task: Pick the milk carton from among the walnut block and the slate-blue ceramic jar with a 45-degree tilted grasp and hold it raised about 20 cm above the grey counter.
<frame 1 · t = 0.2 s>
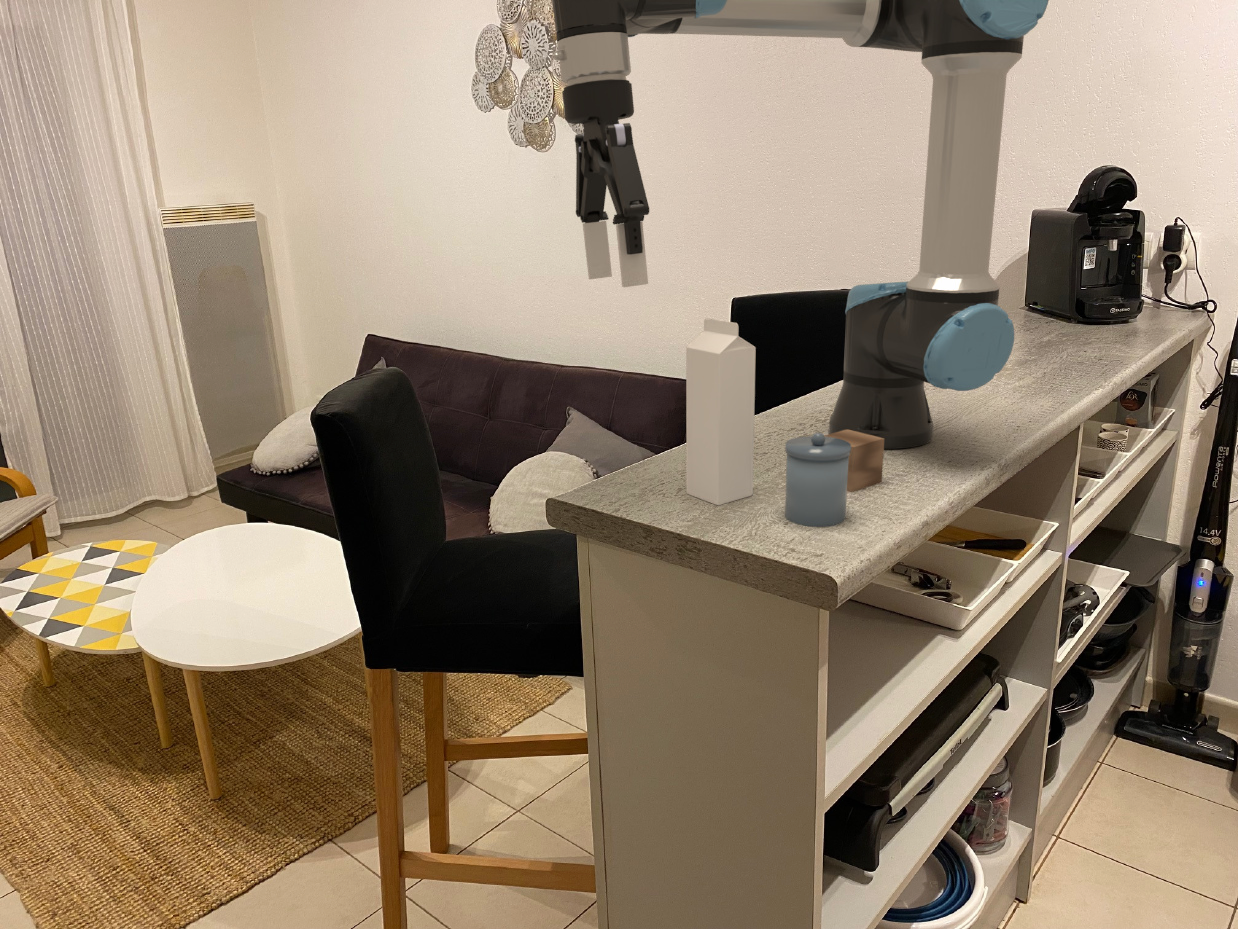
hand: (616, 281, 108), 27 cm above the countertop, tool pointing down, fingers open, 13 cm apart
walnut block: (848, 482, 124), on the countertop
slate jar: (815, 516, 112), on the countertop
milk: (719, 496, 120), on the countertop
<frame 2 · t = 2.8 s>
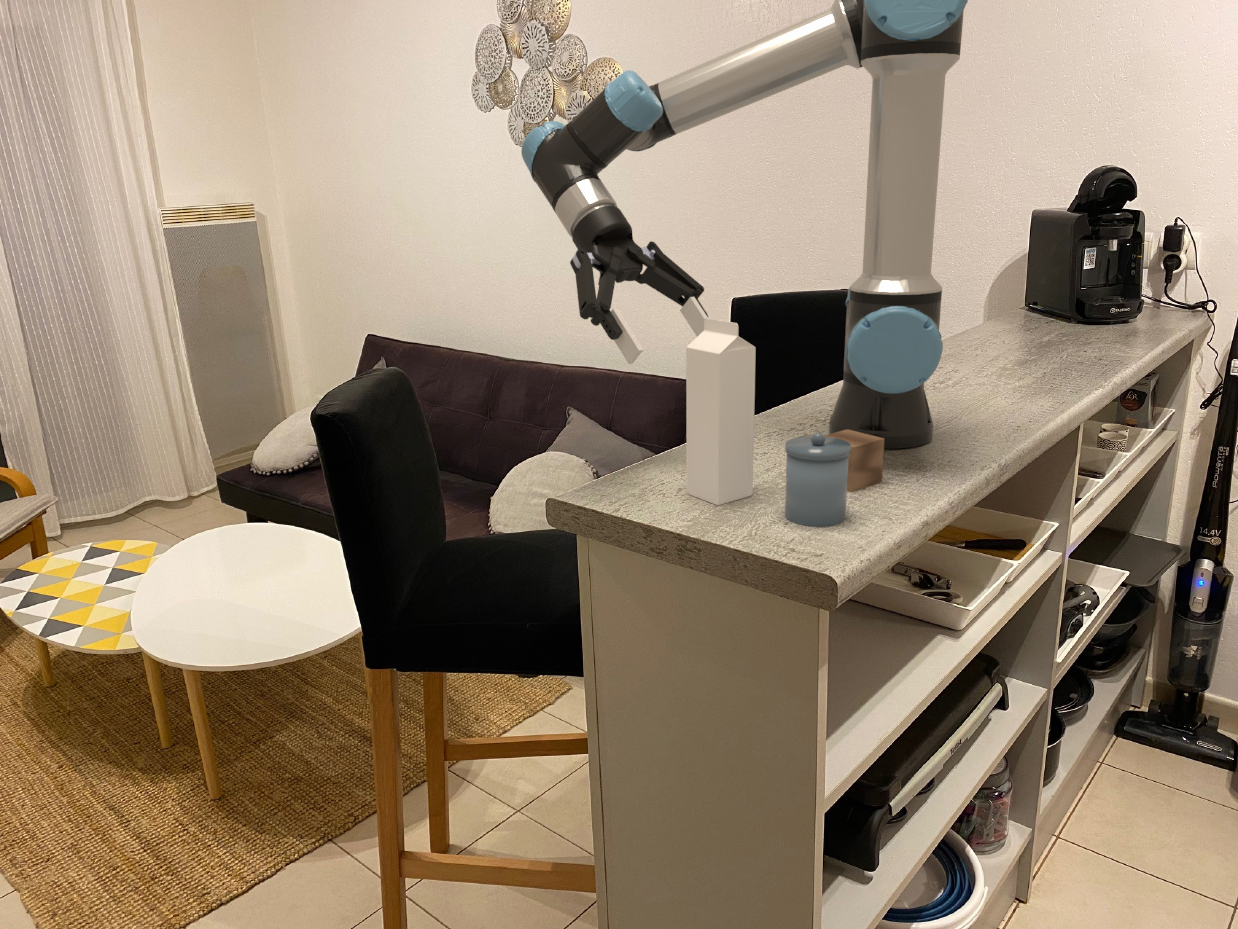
hand: (675, 349, 120), 18 cm above the countertop, tool tilted 45°, fingers open, 13 cm apart
nothing on the countertop moved.
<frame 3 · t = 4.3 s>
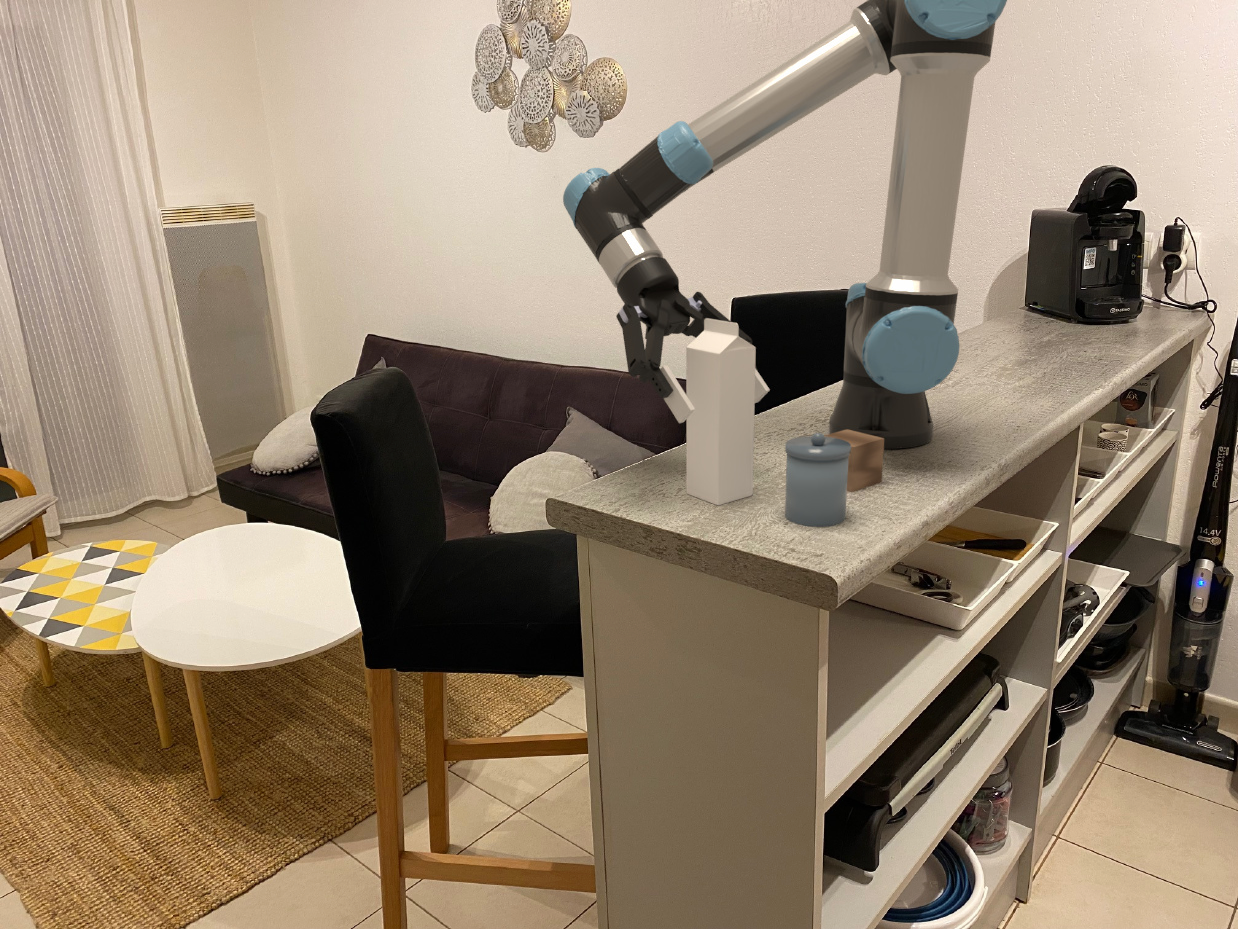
hand: (726, 406, 117), 12 cm above the countertop, tool tilted 45°, fingers open, 13 cm apart
nothing on the countertop moved.
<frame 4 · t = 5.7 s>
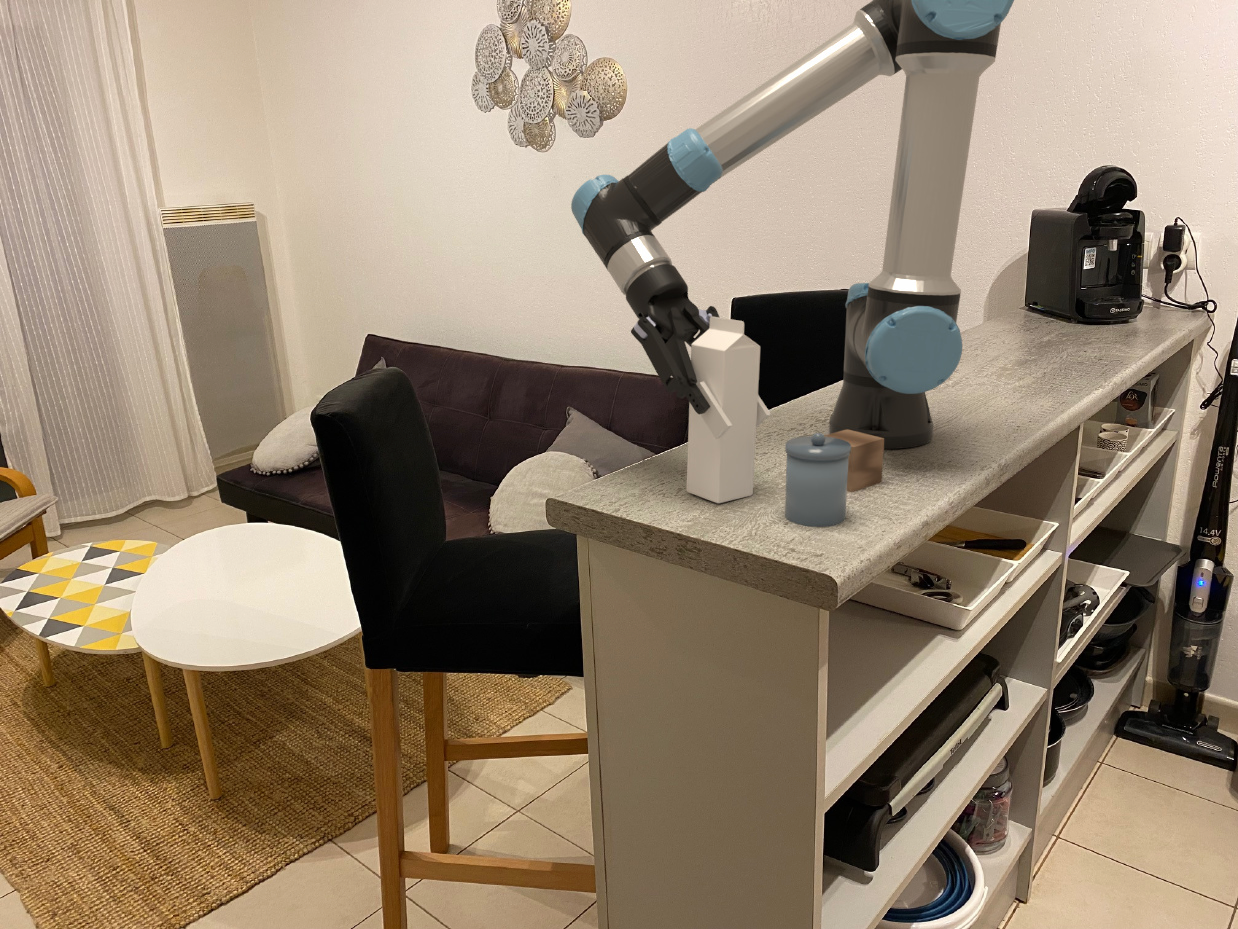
hand: (743, 426, 115), 9 cm above the countertop, tool tilted 45°, fingers closed on milk, 6 cm apart
milk: (719, 495, 120), on the countertop, touching gripper
everything else where it was.
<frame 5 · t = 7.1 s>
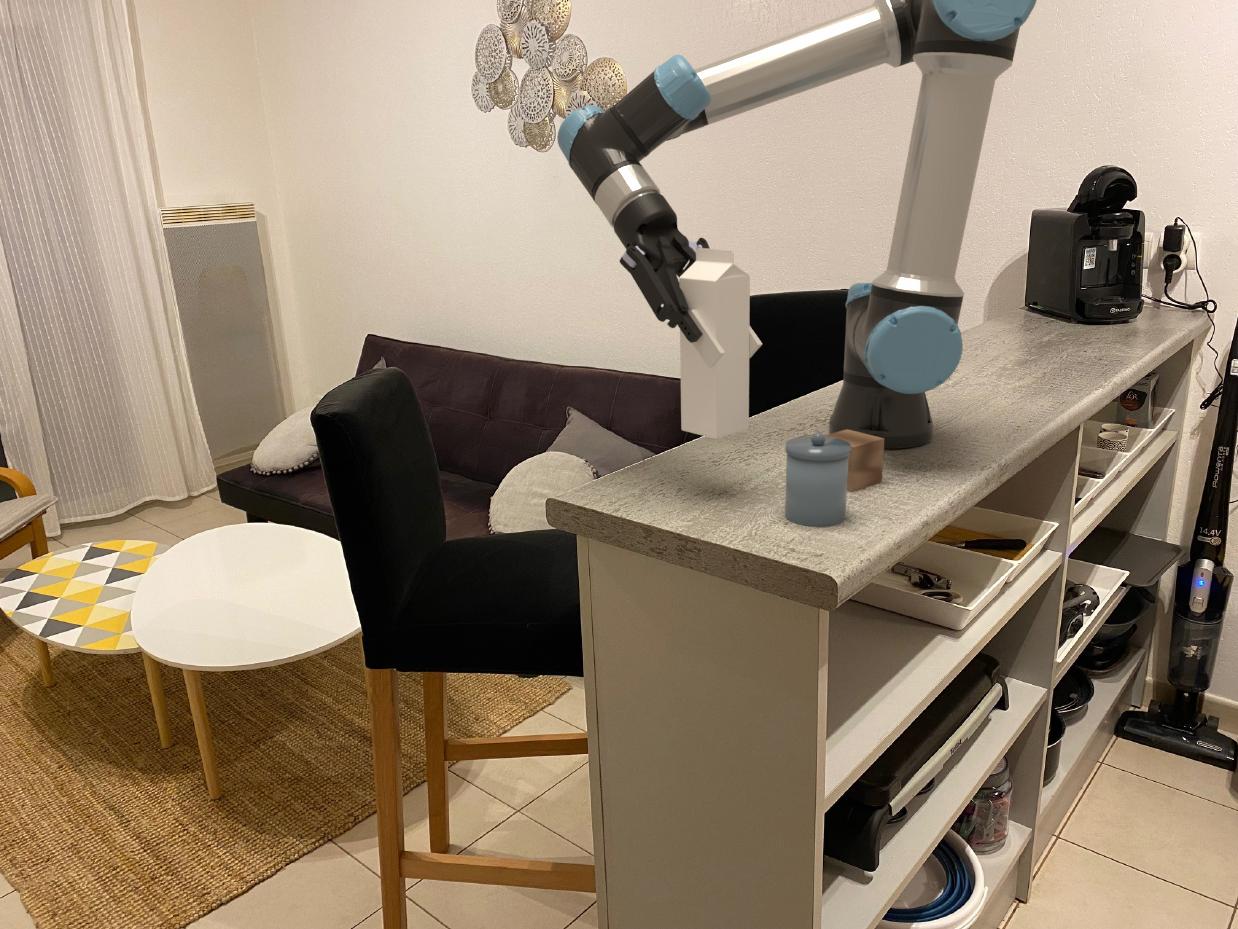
hand: (735, 355, 113), 18 cm above the countertop, tool tilted 45°, fingers closed on milk, 6 cm apart
milk: (714, 431, 118), point 8 cm above the countertop, touching gripper
everything else where it was.
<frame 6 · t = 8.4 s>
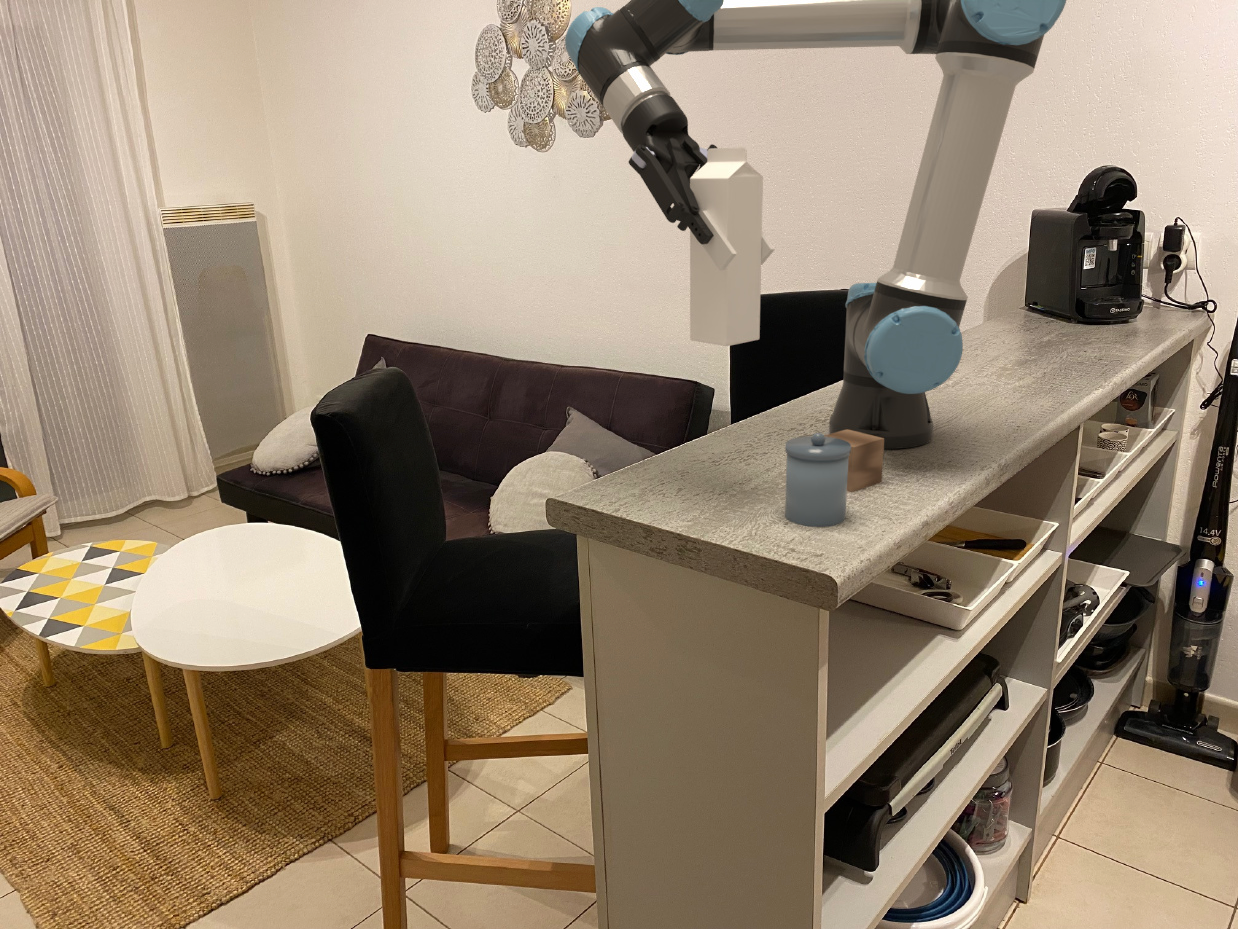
hand: (747, 259, 110), 29 cm above the countertop, tool tilted 45°, fingers closed on milk, 6 cm apart
milk: (724, 341, 115), point 19 cm above the countertop, touching gripper
everything else where it was.
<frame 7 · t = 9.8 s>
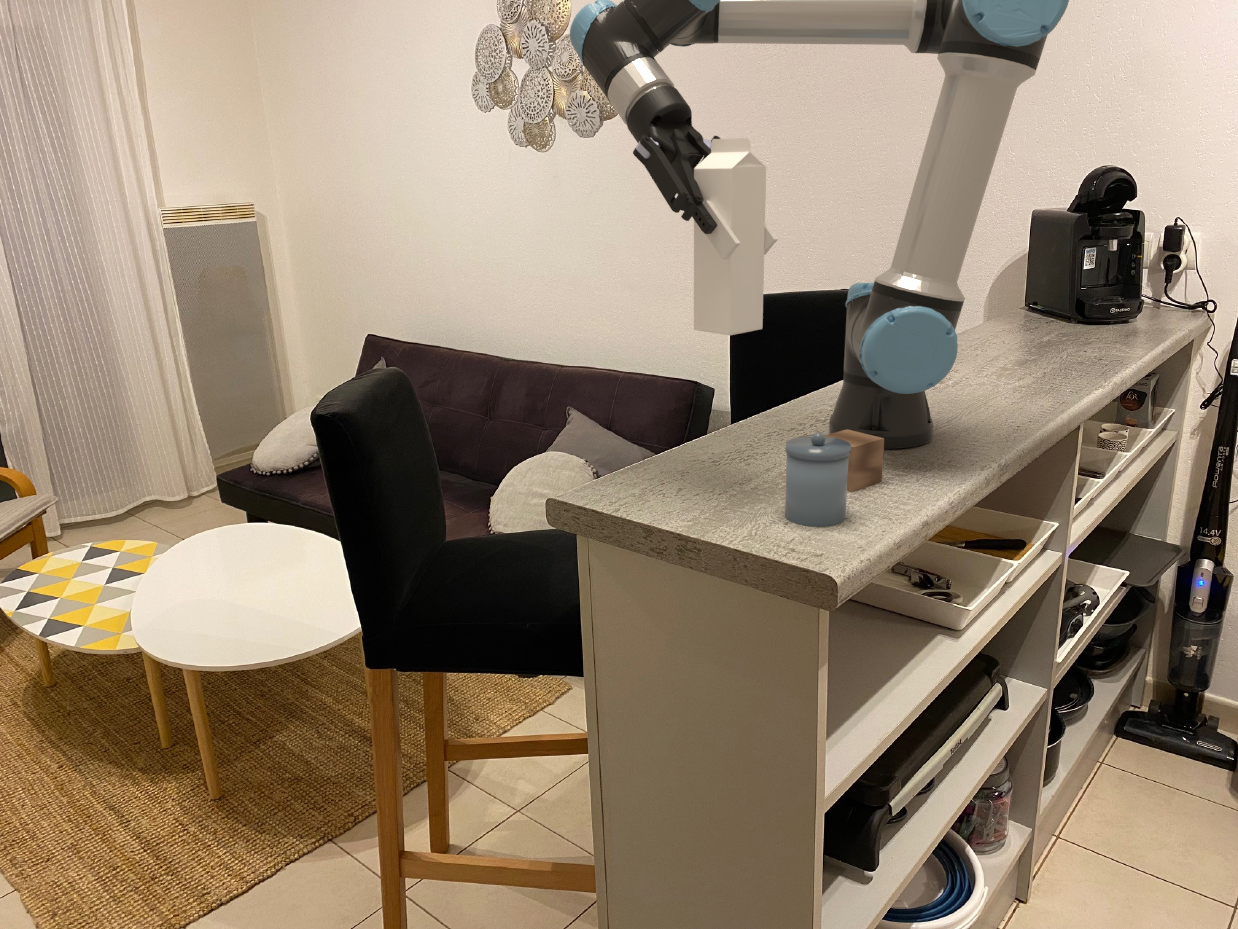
hand: (750, 249, 110), 30 cm above the countertop, tool tilted 45°, fingers closed on milk, 6 cm apart
milk: (728, 331, 116), point 20 cm above the countertop, touching gripper
everything else where it was.
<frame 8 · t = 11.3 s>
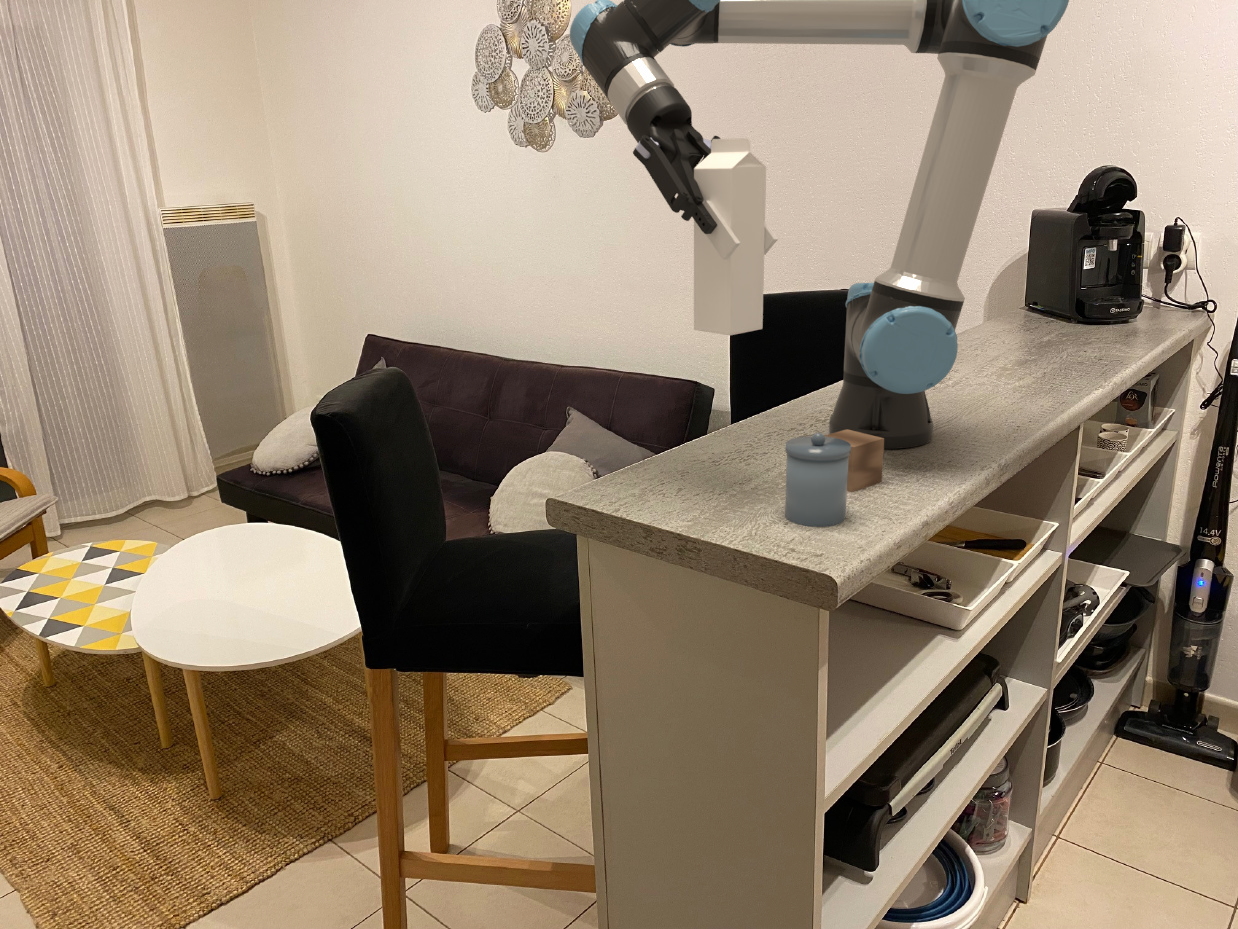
hand: (750, 249, 110), 30 cm above the countertop, tool tilted 45°, fingers closed on milk, 6 cm apart
milk: (728, 331, 116), point 20 cm above the countertop, touching gripper
everything else where it was.
at the end: the gripper is holding milk; milk point 20.4 cm above the countertop; slate jar moved 0.0 cm from its start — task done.
